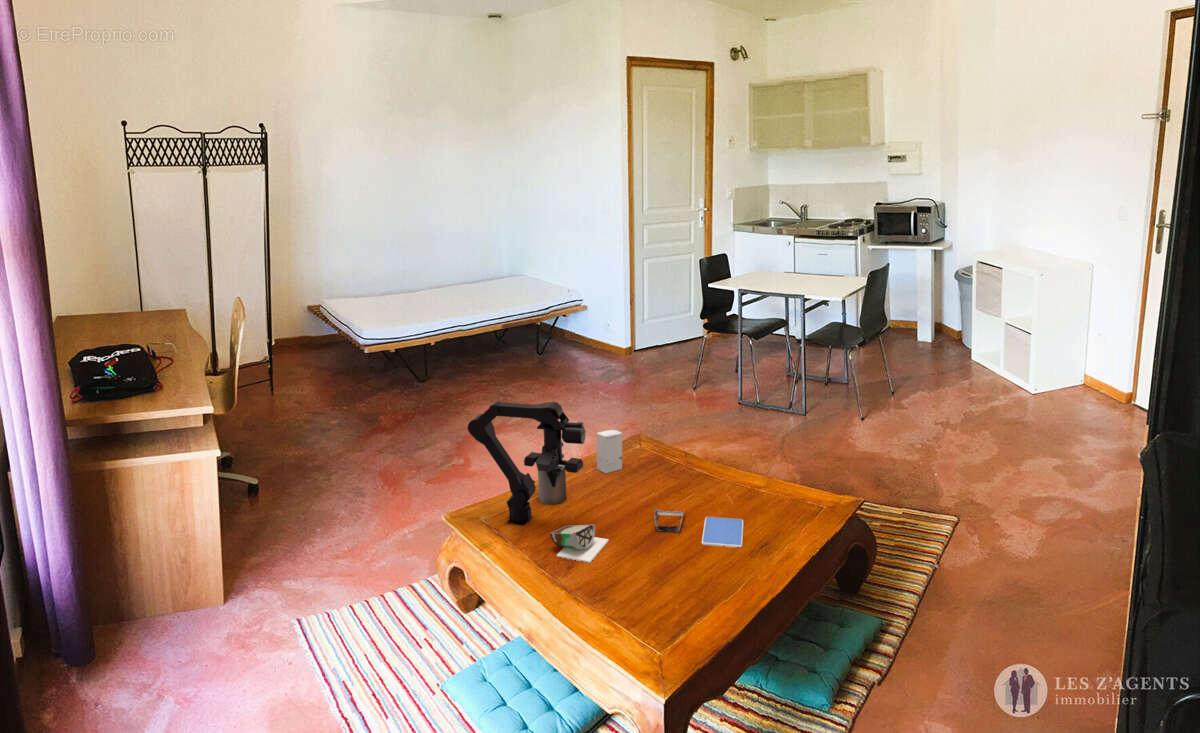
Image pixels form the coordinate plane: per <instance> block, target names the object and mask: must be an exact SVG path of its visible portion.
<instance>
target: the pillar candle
mask: <svg viewBox="0 0 1200 733" xmlns="http://www.w3.org/2000/svg"><path fill="white" fill-rule="evenodd" d="M537 475H538V477H537V479H538V480H537V481H538V482H537V483H538V499H539V501H540V503H542V502H543V503H542V504H544V503H545V504H544V505H557V504H562V503H564V502H566V501H567V498H568V497H567V483H566V482H567V481H566V480H567V479H566V478H567V477H566V470H565V469H564V470H563V471H562V473H561V475H560V477H559V480H558V482H557V485H556V487H552V485H551V482H550V480H549V478H548V476H547V474H546V472H544V471H538V470H537Z"/></svg>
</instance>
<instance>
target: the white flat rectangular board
mask: <svg viewBox="0 0 1200 733" xmlns="http://www.w3.org/2000/svg"><path fill="white" fill-rule="evenodd" d="M609 540H610V539H608V538H603V537H602V538H601V537H597V536H594V539H593V542H592V544H591V545H590V546H589V547H587V548H585V549H581V550H578V549H576V548H575V547H568V546H563V548H562V549H560V551H559V552H558V553H557V554H556V557H557V558H559V557H561V559H565V558H566V560H570V559H571V561H575V560H576V561H577V562H581V561H583V562H582V563H586V562H587V563H586V564H591V563H592V562H593V561H592V560H594V559H595V558H596V557H597V556H598V555H599V554H600V552H601V551H602V550H603V548H604V547H605V546H606V545H607V544H608V543H609V542H610V541H609ZM597 554H598V555H597Z"/></svg>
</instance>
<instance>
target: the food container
mask: <svg viewBox="0 0 1200 733" xmlns="http://www.w3.org/2000/svg"><path fill="white" fill-rule="evenodd" d="M595 533H596V525H595V524H591V523H590V524H579V525H578V524H577V525H575V524H574V525H573V524H572V525H565V526H562V527H560V528H558V529H557V530H554V531H552V532H550V533H549V535H550V539H551V541H552V543H553V544H554V545H555V546H558V547H559V546H560V547H565V546H568V547H575V548H576V549H578V550H581V549H585V548H587V547H589V546H590V545H591V544H592V542H593V539H594V537H595V536H596V535H595Z"/></svg>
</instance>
